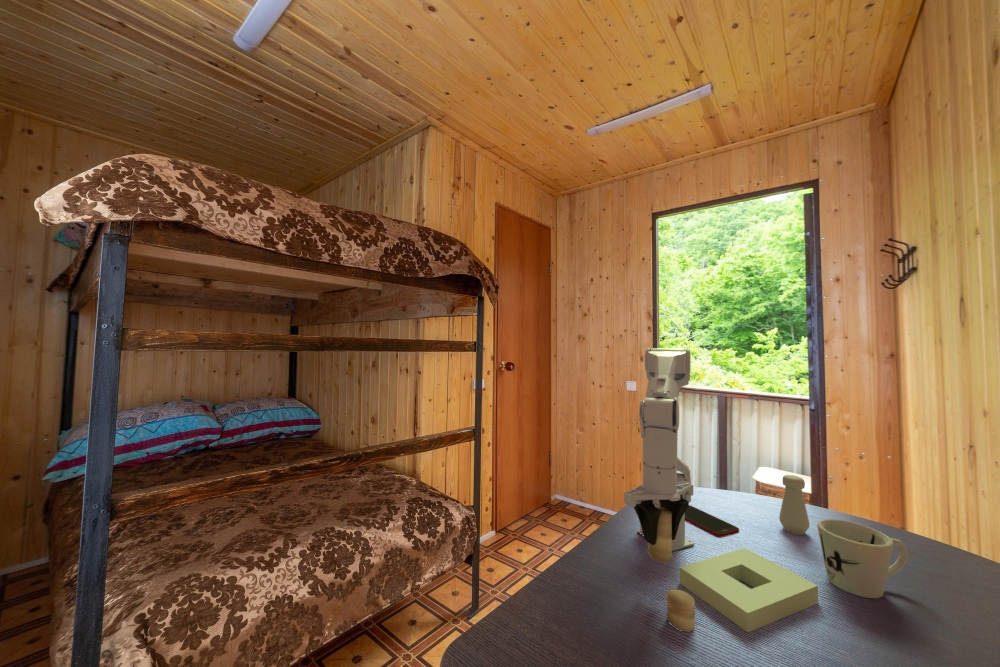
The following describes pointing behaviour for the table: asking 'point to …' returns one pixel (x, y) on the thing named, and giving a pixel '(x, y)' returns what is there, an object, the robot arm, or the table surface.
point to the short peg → (681, 610)
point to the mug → (858, 557)
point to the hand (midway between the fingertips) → (659, 539)
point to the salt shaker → (794, 506)
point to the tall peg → (662, 537)
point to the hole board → (740, 604)
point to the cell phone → (709, 522)
